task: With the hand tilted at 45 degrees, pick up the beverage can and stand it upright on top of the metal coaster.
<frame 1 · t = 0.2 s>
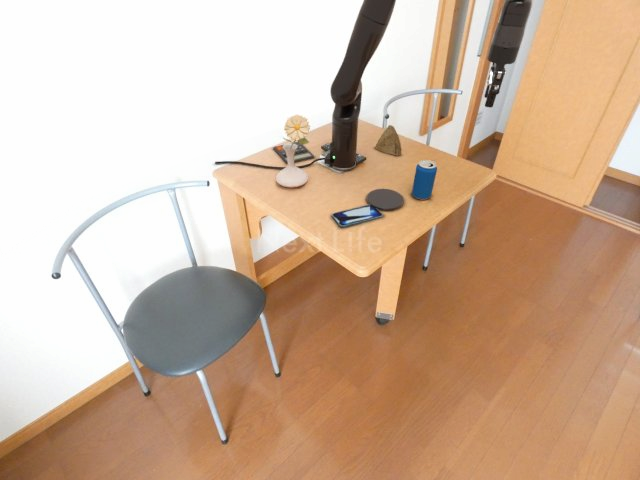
hand: (488, 102, 112), 29 cm above the table, tool pointing down, fingers open, 8 cm apart
metal coaster: (384, 200, 123), on the table
smartphone: (357, 217, 117), on the table
rock: (388, 152, 151), on the table
beverage can: (420, 196, 126), on the table
calculator: (293, 153, 150), on the table
flower in vase: (294, 183, 133), on the table
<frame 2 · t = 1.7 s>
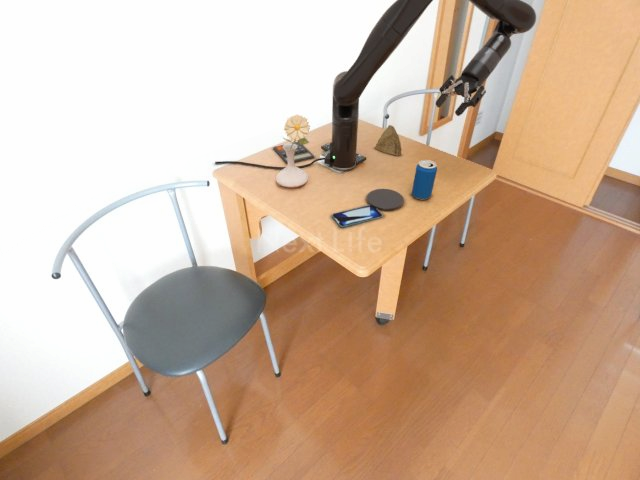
hand: (446, 110, 119), 25 cm above the table, tool tilted 45°, fingers open, 8 cm apart
nothing on the table moved.
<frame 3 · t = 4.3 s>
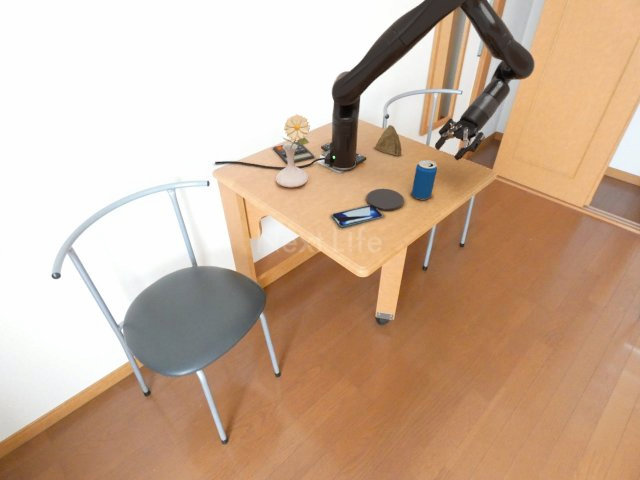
hand: (445, 153, 120), 14 cm above the table, tool tilted 45°, fingers open, 8 cm apart
nothing on the table moved.
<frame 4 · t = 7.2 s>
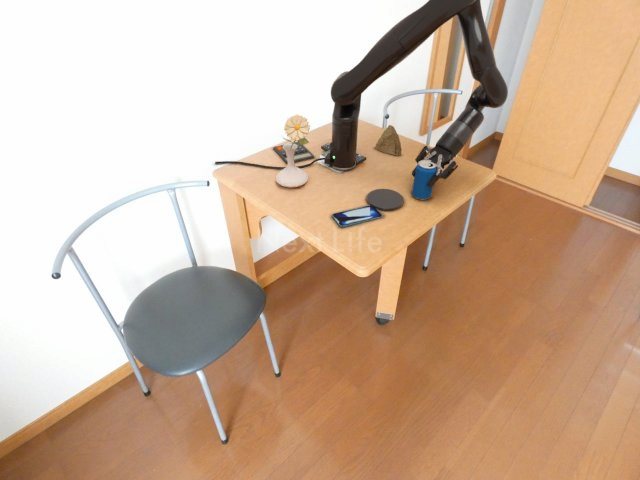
hand: (420, 180, 121), 6 cm above the table, tool tilted 45°, fingers closed on beverage can, 6 cm apart
beverage can: (420, 196, 126), on the table, touching gripper
everything else where it was.
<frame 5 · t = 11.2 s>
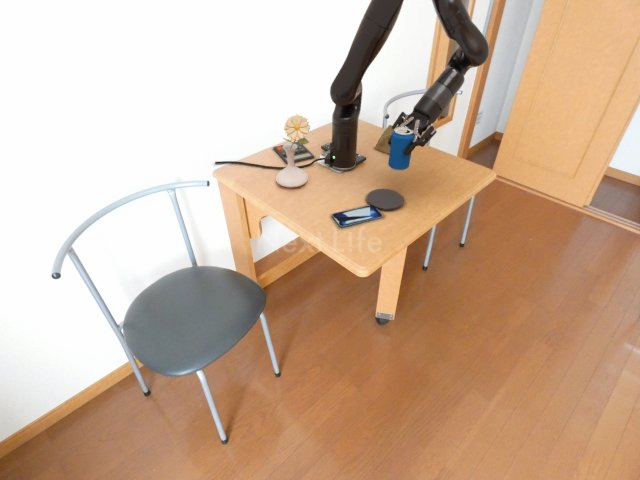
hand: (397, 149, 111), 18 cm above the table, tool tilted 45°, fingers closed on beverage can, 6 cm apart
beverage can: (398, 167, 116), point 12 cm above the table, touching gripper
everything else where it was.
when the fingers open (7 cm above the table, at t = 15.2 s): beverage can stays where it is, resting on metal coaster.
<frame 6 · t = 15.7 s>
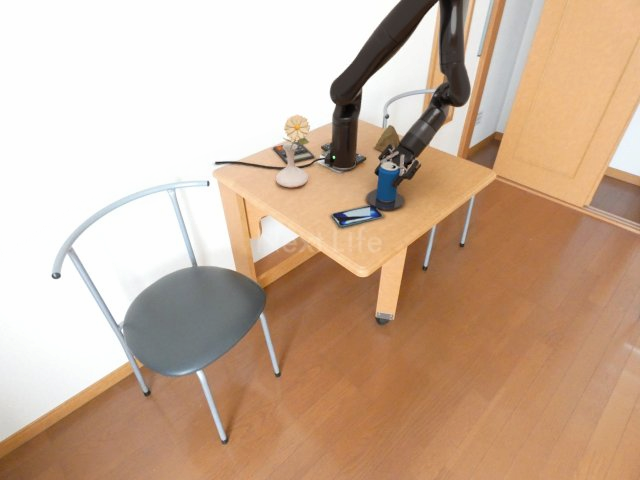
hand: (384, 180, 117), 8 cm above the table, tool tilted 45°, fingers open, 8 cm apart
beverage can: (385, 198, 123), point 1 cm above the table, touching metal coaster
everything else where it was.
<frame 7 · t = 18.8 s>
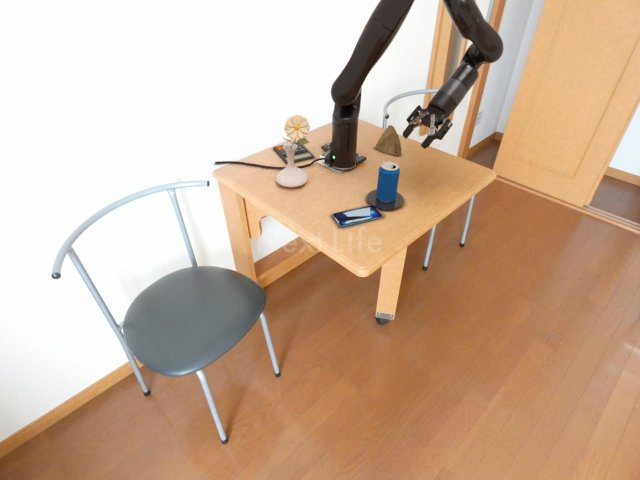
hand: (413, 142, 115), 19 cm above the table, tool tilted 45°, fingers open, 8 cm apart
nothing on the table moved.
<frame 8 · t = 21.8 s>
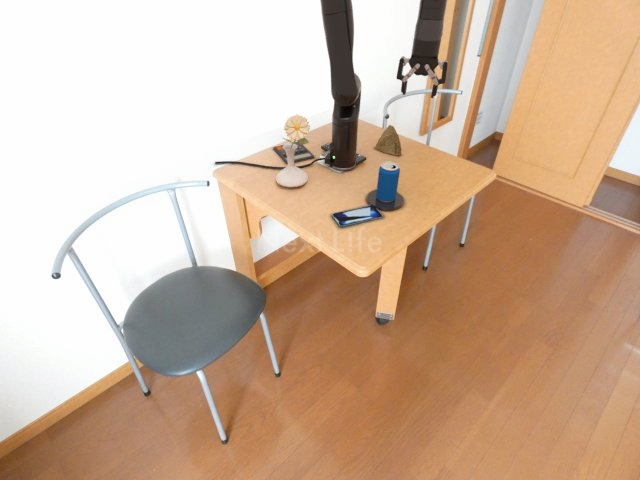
hand: (418, 95, 114), 30 cm above the table, tool pointing down, fingers open, 8 cm apart
nothing on the table moved.
at the end: beverage can 0.2 cm from the metal coaster (horizontally); beverage can point 0.8 cm above the table; beverage can tilted 0° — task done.
